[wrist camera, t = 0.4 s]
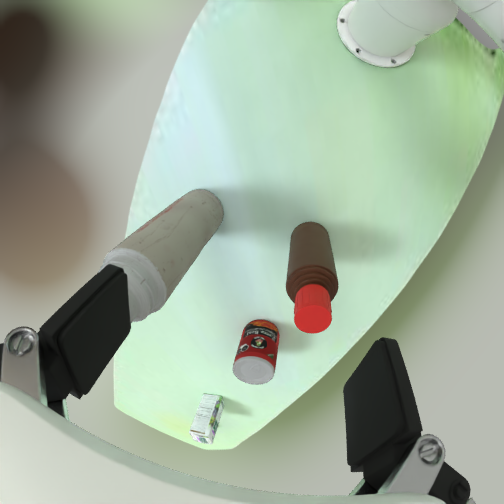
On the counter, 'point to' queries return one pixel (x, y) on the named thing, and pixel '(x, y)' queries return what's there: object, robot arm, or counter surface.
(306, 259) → the bottle
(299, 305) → the cap
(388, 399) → the robot arm
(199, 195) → the thermos bottle
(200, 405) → the syrup box
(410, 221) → the counter surface
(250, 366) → the canned food
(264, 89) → the counter surface
